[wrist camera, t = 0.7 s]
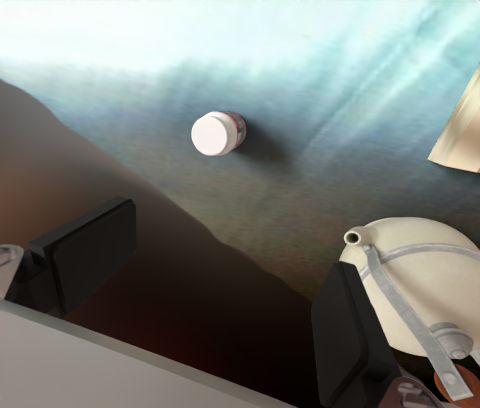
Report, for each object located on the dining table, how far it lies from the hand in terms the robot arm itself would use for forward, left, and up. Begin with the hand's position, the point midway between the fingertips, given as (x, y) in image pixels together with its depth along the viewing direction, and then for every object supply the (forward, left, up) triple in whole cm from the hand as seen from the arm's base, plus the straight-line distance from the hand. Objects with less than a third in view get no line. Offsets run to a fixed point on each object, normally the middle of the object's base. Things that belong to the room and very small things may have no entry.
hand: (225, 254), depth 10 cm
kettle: (+12, +23, -29) cm, 38 cm away
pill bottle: (-2, -7, -29) cm, 30 cm away
